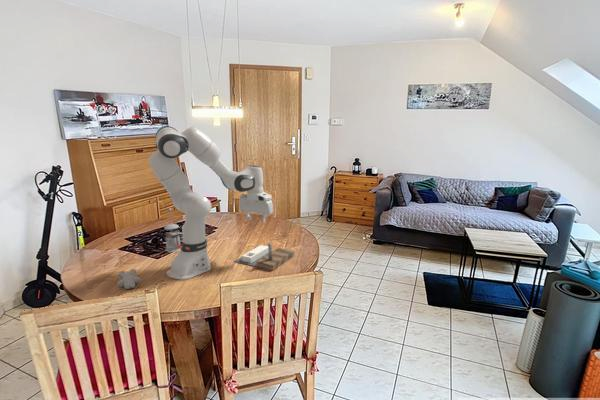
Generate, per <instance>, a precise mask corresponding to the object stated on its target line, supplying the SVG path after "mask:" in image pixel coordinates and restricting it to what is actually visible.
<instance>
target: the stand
mask: <svg viewBox="0 0 600 400" xmlns="http://www.w3.org/2000/svg"><path fill="white" fill-rule="evenodd" d="M267 246H268V255H267V256H265V257H263V258H262V259H260V260H258V261H257V265H256V268H258V269H262V270H263V269H264V270H268V271H272V272H273V271H275V270H277V269H278V268H279V267H281V266H282V265H284V264H285V263H286V262H288V261H290V260H291V259H292V258H294V257H295V250H291V249H286V248H282V247H278V248H276V249H275V250H273V242H268V243H267ZM272 251H273V252H272Z"/></svg>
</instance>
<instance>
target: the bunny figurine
mask: <svg viewBox="0 0 600 400" xmlns="http://www.w3.org/2000/svg"><path fill="white" fill-rule="evenodd" d="M136 273H137V270H136V268H132V269H131V270H129V271H127V272H125V271H122V270H121V271H119V272H118V274H117V276H118V277H121V279H119V280H118V281H116V283H117V287H121V288H123V287H124V290H129V289H134V288H136V284H138V283H141V276H135V274H136Z"/></svg>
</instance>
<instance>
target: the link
mask: <svg viewBox="0 0 600 400" xmlns="http://www.w3.org/2000/svg"><path fill="white" fill-rule="evenodd" d="M267 253H268V245H262V244H260V245H258V246H257V247H255V248H253V249H251V250H250V251H248V252H246V253H244V254H242V255H241V257H242V261H244V262H249V263H252V262H254V261H255V260H257V259H259V258H260V257H262V256H264V255H265V254H267Z"/></svg>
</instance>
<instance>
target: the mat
mask: <svg viewBox="0 0 600 400" xmlns="http://www.w3.org/2000/svg"><path fill="white" fill-rule="evenodd" d="M273 251H274V250H272V252H273ZM267 255H268V253H267V254H265V255H264V256H262V257H260V258H259V259H257V260H255V261H254V262H252V263H249V262H244V261H242V256H241V257H239V258H238V259H236V260H234V263H238V264H242V265H246V266H251V267H257V261H258V260H260V259H262V258H263V257H265V256H267Z"/></svg>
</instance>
